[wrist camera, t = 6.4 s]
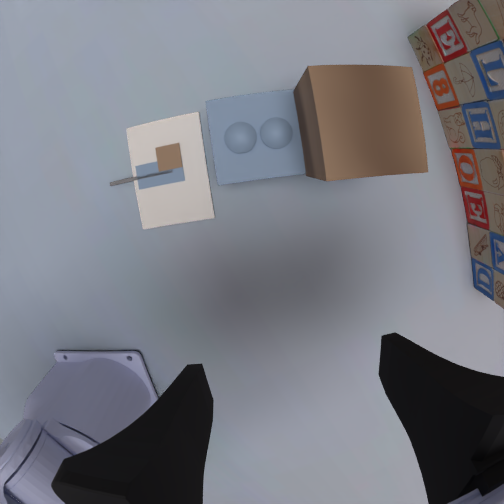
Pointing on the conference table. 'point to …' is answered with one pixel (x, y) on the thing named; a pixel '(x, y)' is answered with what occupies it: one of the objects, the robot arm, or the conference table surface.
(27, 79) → the conference table surface
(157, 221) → the page
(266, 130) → the base brick
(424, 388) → the robot arm
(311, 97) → the walnut brick
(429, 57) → the stack of blocks
